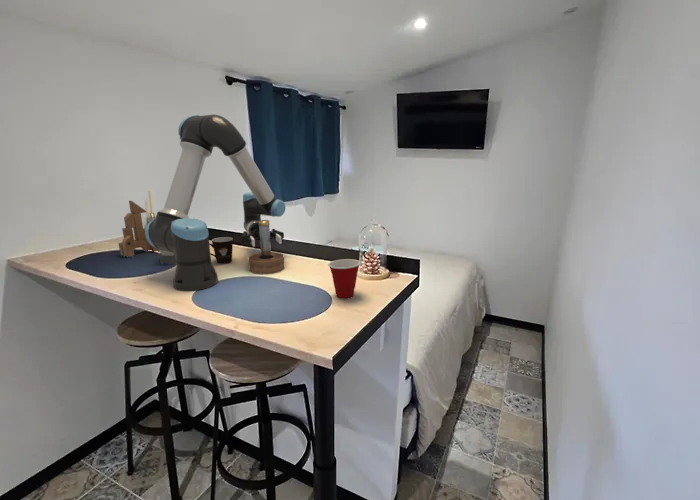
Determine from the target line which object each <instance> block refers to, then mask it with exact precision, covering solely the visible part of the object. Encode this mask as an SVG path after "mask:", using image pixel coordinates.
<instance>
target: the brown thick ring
mask: <svg viewBox="0 0 700 500" xmlns="http://www.w3.org/2000/svg"><path fill="white" fill-rule="evenodd" d="M248 269H249V272H250V273H253V274H255V275H256V274H257V275H270V274H271V275H272V274H276V273H279V272H281V271H283V270H284V269H285V256H284V254H283V253H280V252H274V251H271V258H270V259H261V252H258V253H253V254H251V255H250V256H248Z"/></svg>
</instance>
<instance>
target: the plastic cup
mask: <svg viewBox="0 0 700 500" xmlns="http://www.w3.org/2000/svg"><path fill="white" fill-rule="evenodd" d="M327 265H328V267H329V269H330V273H331V275H332V276H331V277H332V281H333V287H334V291H335V296H336V297H337V298H339V299H341V300H348V298H349V299H352V298H353V297H354V294H355V289H356V286H357V285H356V283H357V279H358V274H359V273H358V271H359V267H360V265H361V261H360V260H359V259H358V260H357V259H354V258H353V259H351V258H346V259H344V258H343V259H342V258H341V259H336V260H332V261H330V262H328V264H327ZM351 297H352V298H351Z"/></svg>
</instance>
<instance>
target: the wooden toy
mask: <svg viewBox="0 0 700 500" xmlns="http://www.w3.org/2000/svg"><path fill="white" fill-rule="evenodd" d="M128 203H129V204H128V205H129V210H130V212H128V213H126V215H125V216H124V218H123V219H124V227H123V228H122V229H121V230H122V234H123V235H122V236H123V239H122V242H118V248H119V249H118V250H119V253H120V254H121V255H124V256H127V257H128V256H133V255H135V251H134V250H136V249H137V248H139V249H142V251H143V250H145V251H148V250H152V251H151V252H153V251H159V249H157V248H155V247H153V246H152V245H150V244H149V242H148V241H147V239H146V235H145V230H146V229H145V228H144V226H143V219H142V214H144V213H147V212H148V211H147V210H145V209H144V208H143V207H141V206H140V205H139V204H137V203H135V202H134V201H133V200H128ZM159 252H160V251H159ZM120 254H119V255H120ZM121 255H120V256H121Z"/></svg>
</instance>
